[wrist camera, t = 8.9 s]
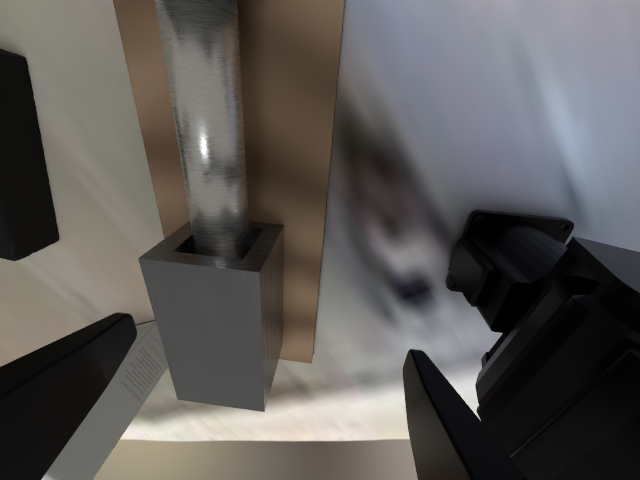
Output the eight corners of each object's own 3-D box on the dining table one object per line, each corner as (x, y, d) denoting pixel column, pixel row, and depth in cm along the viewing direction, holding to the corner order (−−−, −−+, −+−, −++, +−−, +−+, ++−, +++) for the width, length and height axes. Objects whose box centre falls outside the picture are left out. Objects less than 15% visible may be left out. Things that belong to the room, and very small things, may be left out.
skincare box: (137, 358, 29) (15, 506, 18) (111, 330, 27) (-39, 475, 17) (183, 348, 28) (80, 502, 17) (158, 318, 26) (27, 468, 15)
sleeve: (282, 344, 24) (264, 411, 19) (214, 335, 25) (177, 399, 19) (284, 224, 19) (259, 272, 14) (196, 215, 19) (138, 258, 14)
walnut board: (313, 354, 26) (311, 363, 25) (193, 338, 27) (188, 347, 26) (371, -292, 10) (373, -330, 9) (66, -296, 11) (40, -332, 10)
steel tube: (273, 264, 20) (251, 312, 15) (208, 256, 20) (167, 301, 16) (270, -194, 10) (208, -430, 6) (146, -198, 11) (-9, -429, 6)
